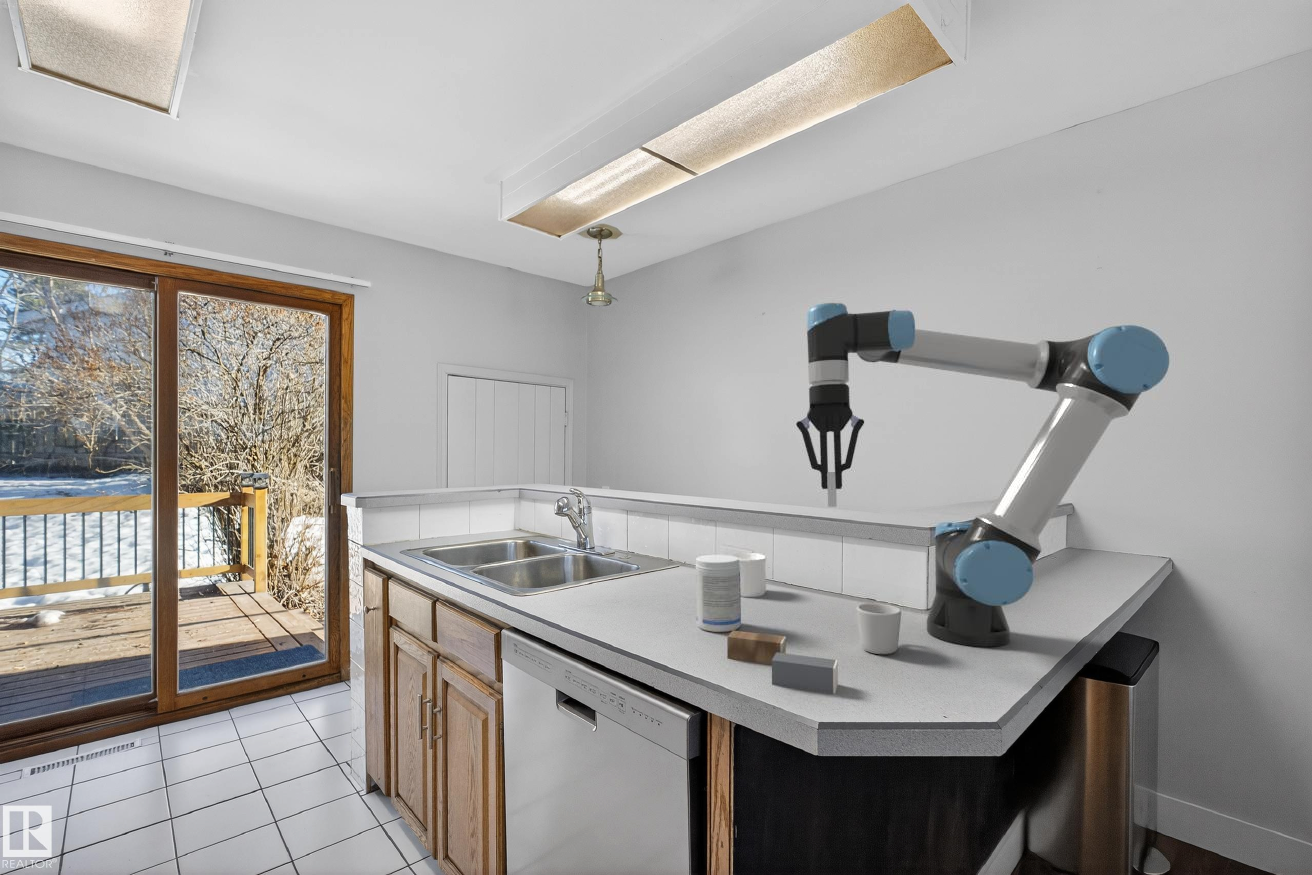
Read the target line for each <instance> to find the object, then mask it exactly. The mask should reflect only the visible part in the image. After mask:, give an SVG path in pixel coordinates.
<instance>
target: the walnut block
mask: <svg viewBox="0 0 1312 875" xmlns="http://www.w3.org/2000/svg"><path fill="white" fill-rule="evenodd" d="M726 642H727V643H726V644H727V645H726V646H727V647H726V648H727V656H726V657H727V659H728V660H736V661H743V662H751V663H759V664H766V665H772V659H773V657H774V656H775V654H776V652H778V653H786V654H787V636H784V635H776V634H775V635H774V634H765V633H759V632H757V633H756V632H748V631H741V630H733V631H730V633H729V635H727V641H726Z"/></svg>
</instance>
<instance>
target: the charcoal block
mask: <svg viewBox="0 0 1312 875" xmlns="http://www.w3.org/2000/svg"><path fill="white" fill-rule="evenodd" d="M838 661H839V660H838V659H834V658H823V657H814V656H809V655H799V654H792V653H787V652H786V653H778V652H776V654H775V656H774V657H773V659H772V664H771V685H772V686H780V687H786V688H794V689H800V690H807V691H812V692H813V691H814V692H820V693H825V694H826V693H827V694H833V695H835V694H836V693H837V689H838V685H839V680H838V679H839V677H838V676H839V662H838Z"/></svg>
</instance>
